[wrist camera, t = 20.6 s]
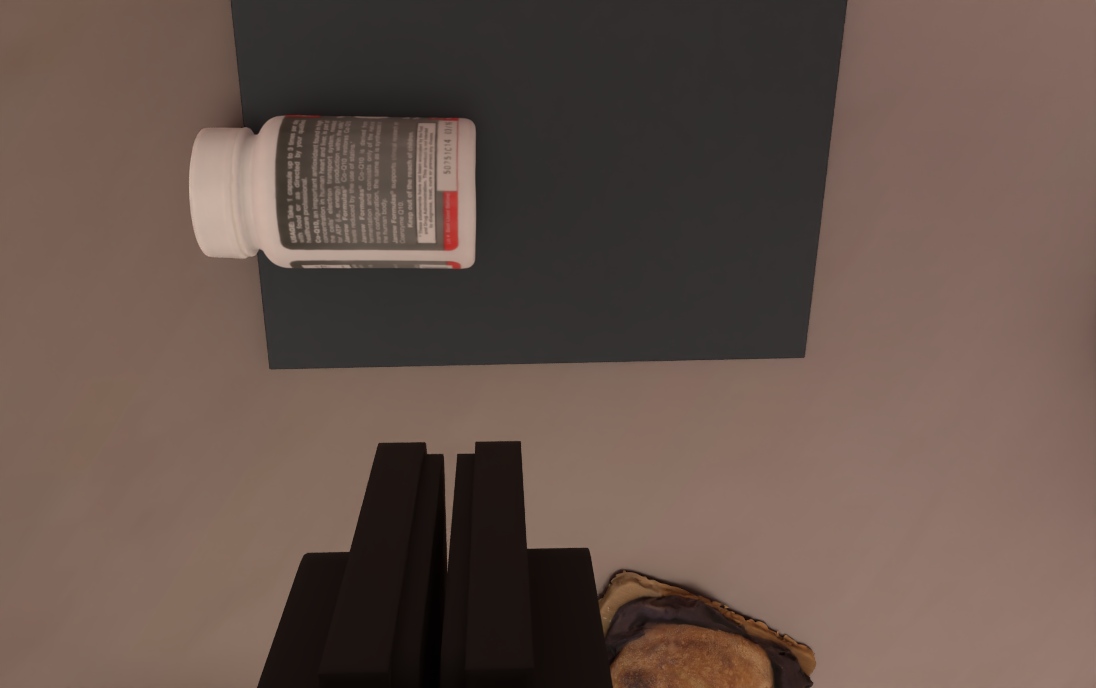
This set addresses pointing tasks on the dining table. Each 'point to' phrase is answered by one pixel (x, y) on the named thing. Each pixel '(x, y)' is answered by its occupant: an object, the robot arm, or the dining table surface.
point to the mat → (569, 174)
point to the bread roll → (692, 642)
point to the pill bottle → (338, 192)
